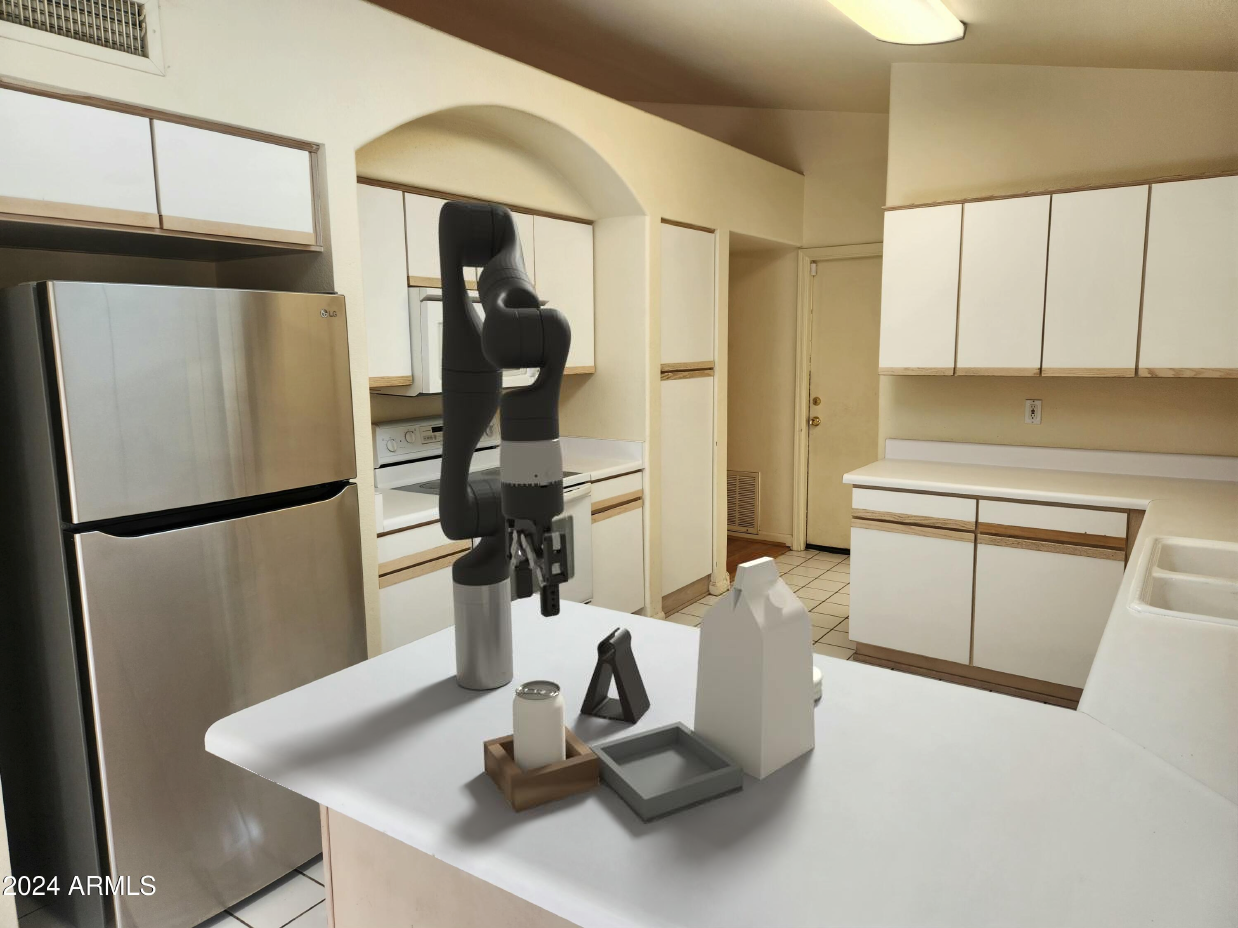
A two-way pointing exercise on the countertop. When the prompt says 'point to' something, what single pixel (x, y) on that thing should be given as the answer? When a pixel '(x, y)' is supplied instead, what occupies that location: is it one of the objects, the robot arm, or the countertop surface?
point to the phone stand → (616, 682)
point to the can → (538, 725)
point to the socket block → (541, 773)
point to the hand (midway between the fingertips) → (536, 606)
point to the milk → (756, 672)
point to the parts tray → (666, 771)
